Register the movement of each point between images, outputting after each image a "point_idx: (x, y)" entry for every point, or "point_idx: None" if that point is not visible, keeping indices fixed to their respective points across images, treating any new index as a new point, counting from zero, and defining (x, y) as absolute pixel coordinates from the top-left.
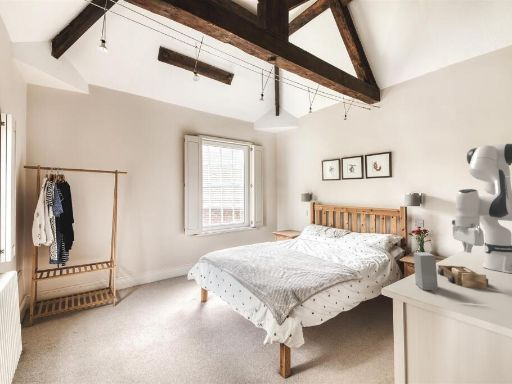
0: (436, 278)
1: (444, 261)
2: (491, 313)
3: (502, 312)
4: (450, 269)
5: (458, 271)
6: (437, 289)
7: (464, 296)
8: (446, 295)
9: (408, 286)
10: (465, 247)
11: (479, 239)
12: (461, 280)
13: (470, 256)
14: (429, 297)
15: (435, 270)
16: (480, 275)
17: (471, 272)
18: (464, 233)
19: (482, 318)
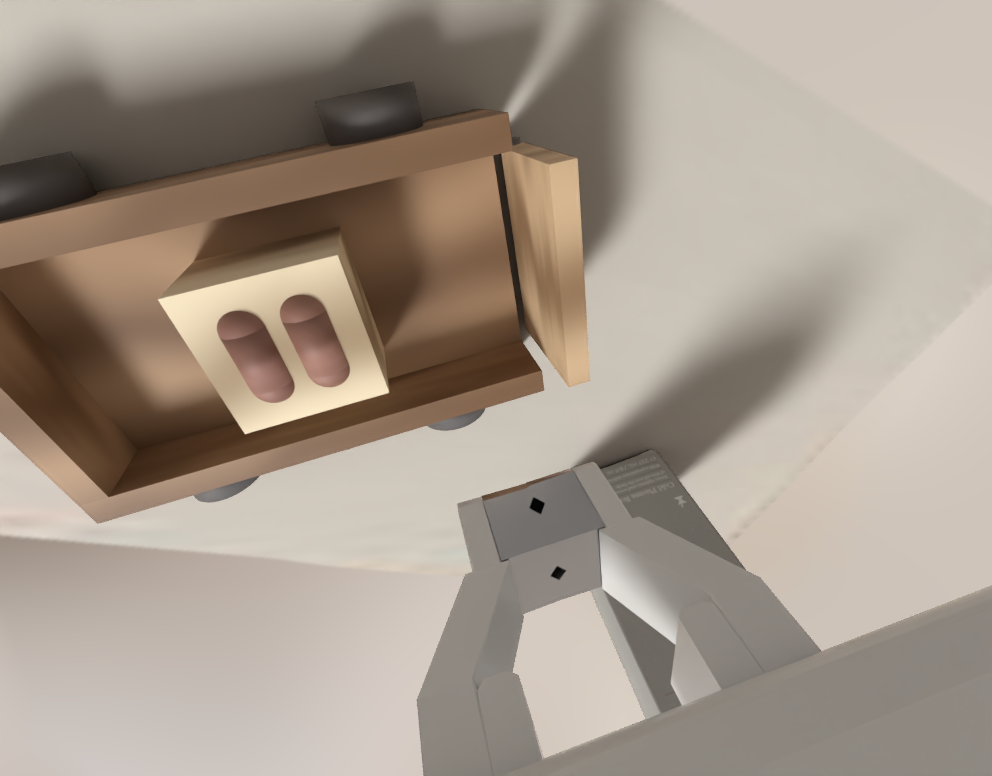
0: (699, 508)
1: None
2: (920, 255)
3: (920, 193)
4: (61, 402)
5: (386, 382)
6: (659, 456)
7: (709, 335)
8: (706, 413)
9: None
10: (521, 612)
11: None
12: (393, 320)
13: None
14: (741, 471)
15: (734, 557)
16: (578, 222)
17: (340, 258)
18: None
19: (952, 307)
